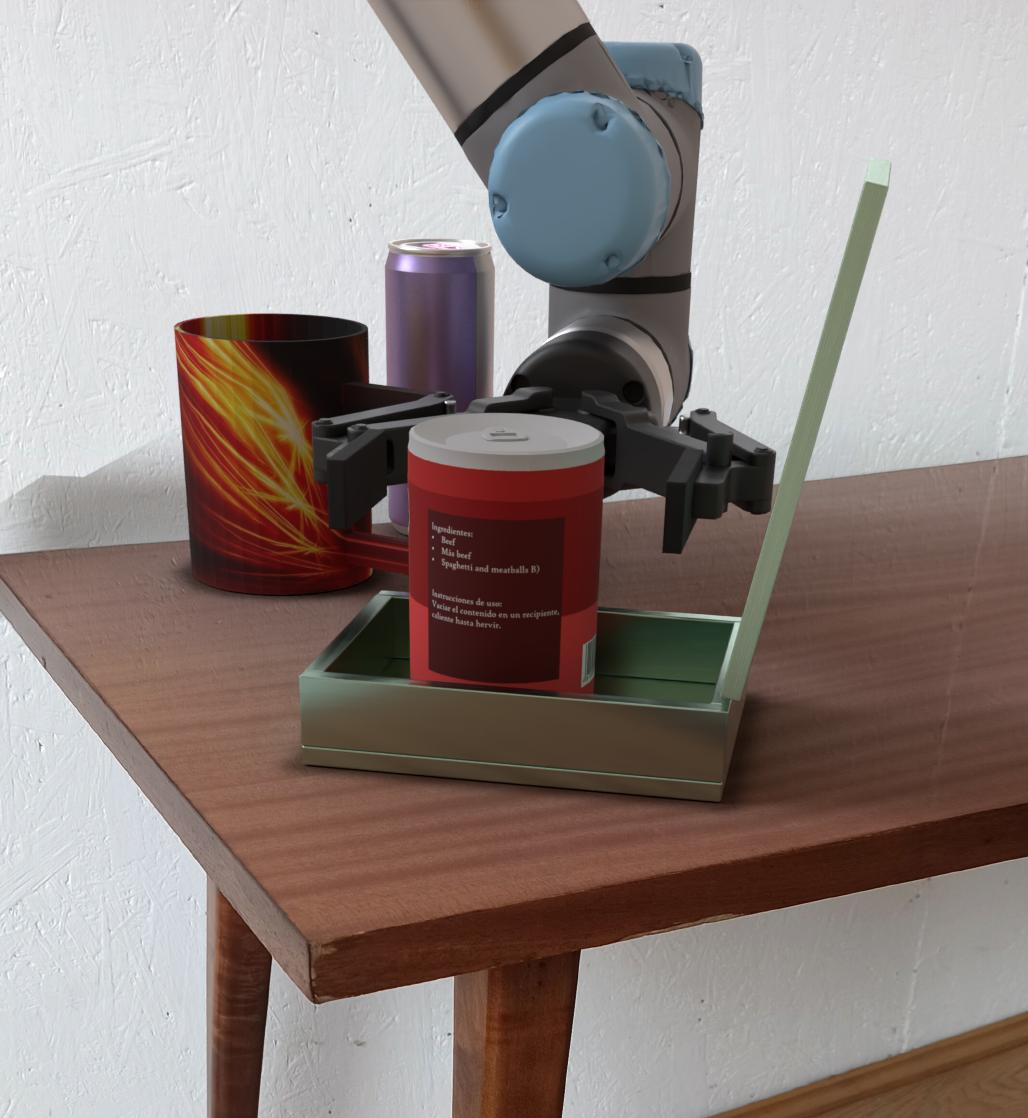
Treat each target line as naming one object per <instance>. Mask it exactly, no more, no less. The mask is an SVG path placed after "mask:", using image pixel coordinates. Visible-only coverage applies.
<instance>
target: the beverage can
mask: <svg viewBox="0 0 1028 1118" xmlns="http://www.w3.org/2000/svg"><path fill="white" fill-rule="evenodd" d="M387 248H388V253H387V256H386V257H387V258H386V261H385V264H384V291H385V292H384V298H385V300H384V301H385V303H384V307H385V310H384V311H385V363H386V364H385V367H386V368H385V370H386V371H385V372H386V386H393V387H401V388H409V389H416V390H424V391H431V392H439V391H442V392H446V393H449V394H450V395H453V400H455V401H456V412H461V413H463V412H465V411H466V410H467V409H468V406H469V404H470V403H471V402H472V401H473V400H476V399H483V398H492V397H494V377H495V376H494V372H495V369H494V367H495V365H494V364H495V363H494V362H495V301H496V299H495V298H496V295H495V294H496V293H495V292H496V285H495V284H496V267H495V262H494V260H493V256H492V252H491V251H492V250H493V246H492V244H491V243H490V242H486V241H481V240H475V239H467V238H452V237H451V238H450V237H449V238H448V237H413V238H402V239H394V240H390V241H389V242H388V243H387ZM387 496H388V499H387V501H388V518H389V519H390V522H391V524H392V526H393V527H394V529H395V530H396V531H397V532H399V533H400V534H402V535H404V536H408V483H405V484H399V485H392V486H387Z"/></svg>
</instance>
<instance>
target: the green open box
mask: <svg viewBox="0 0 1028 1118" xmlns="http://www.w3.org/2000/svg"><path fill="white" fill-rule="evenodd" d="M741 618H742V616H730V615H729V616H728V615H716V614H715V615H714V614H701V613H699V614H698V613H690V612H689V613H687V612H675V611H673V612H672V611H661V610H649V609H648V610H647V609H635V608H634V609H633V608H622V607H621V608H620V607H608V606H606V607H605V606H598V611H597V631H596V651H595V671H594V691H593V694H586V693H573V692H561V691H549V690H537V689H525V688H513V687H501V686H489V685H477V684H464V683H452V682H440V681H428V680H416V679H410V615H409V591H407V592H406V591H394V590H379V592H377V593H376V594H374V596H373V597H372V598H371V599H370V600H369V601H368V602H367V604H366V605H364V606H363V607H362V609H361V610H360V611H359V612H358V613H357V614H356V615H355V616H354V617H353V618H352V619H351V620H350V621H349V623H347V624H346V626H345V627H343V629H342V630H341V631H340V632H339V633H338V634H337V635H336V636H335V637H334V638H333V639H332V640H331V641H330V642H329V644H328V645H327V646H326V647H325V648H324V649H323V650H322V651H321V652H320V653H319V654H318V655H317V656H316V658H314V659H313V661H311V663H309V665H308V666H307V667H306V668H305V669H304V670H303V671H302V672H301V673H300V675H298V688H299V689H298V690H299V692H298V693H299V713H300V714H299V715H300V716H299V717H300V738H301V745H302V746H301V756H302V759H301V760H302V765H305V766H306V765H307V766H319V767H328V768H339V769H350V770H360V771H361V770H363V771H373V772H382V773H383V772H384V773H393V774H406V775H418V776H429V777H438V778H449V779H451V778H452V779H460V780H461V779H462V780H471V781H472V780H473V781H484V782H495V783H506V784H516V785H528V786H537V787H549V788H550V787H551V788H560V789H561V788H562V789H571V790H583V791H595V792H604V793H605V792H606V793H617V794H627V795H638V796H647V797H649V796H650V797H659V798H670V799H681V800H691V801H693V800H694V801H705V802H715V803H719V802H721V801H722V799H723V798H722V797H723V794H724V789H725V785H726V781H727V777H728V773H729V770H730V769H729V768H730V764H731V761H732V757H733V753H734V749H735V744H736V741H737V736H738V732H739V729H740V728H739V727H740V723H741V721H742V715H743V711H744V708H745V703H746V699H747V689H748V680H749V676H748V677H747V681H746V684H745V688H744V691H743V695H742V698H741V701H740V702H738V701H734V700H730V699H726V698H723V697H720V693H721V689H722V686H723V682H724V679H725V675H726V672H727V668H728V665H729V661H730V657H731V654H732V650H733V647H734V643H735V640H736V636H737V633H738V629H739V625H740V622H741Z"/></svg>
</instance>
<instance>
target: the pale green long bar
mask: <svg viewBox="0 0 1028 1118" xmlns="http://www.w3.org/2000/svg"><path fill="white" fill-rule="evenodd" d="M892 164H893V163H892V161H889V160H885V159H882V158H878V157H874V156H873V157H871V158H870V160H869V164H868V168H867V171H866V175H865V177H864V182H863V185H862V189H861V192H860V196H859V200H858V201H857V206H856V210H855V213H854V217H853V220H852V224H851V228H850V230H849V235H848V239H847V242H846V245H845V249H844V252H843V256H842V260H841V263H840V265H839V266H840V267H839V270H838V274H837V277H836V282H835V284H834V288H833V291H832V295H831V299H830V302H829V306H828V310H827V313H826V316H825V320H824V322H823V327H822V331H821V334H820V338H819V342H818V345H817V348H816V351H815V356H814V359H813V363H812V367H811V370H810V374H809V377H808V380H807V381H808V382H807V383H806V386H805V392H804V395H803V399H802V401H801V405H800V409H799V413H798V416H797V420H796V423H795V426H794V430H793V433H792V434H793V435H792V436H791V441H790V445H789V448H788V452H787V454H786V459H785V462H784V466H783V469H782V473H781V476H780V480H779V483H778V487H777V492H776V493H775V498H774V500H773V501H774V502H773V505H772V507H771V511H770V516H769V519H768V521H767V526H766V530H765V533H764V536H763V540H762V544H761V548H760V550H759V555H758V558H757V562H756V565H755V569H754V572H753V576H752V580H751V584H750V586H749V590H748V594H747V598H746V601H745V605H744V608H743V612H742V615H741V617H742V618H741V622H740V625H739V629H738V633H737V636H736V640H735V643H734V647H733V650H732V654H731V657H730V661H729V665H728V668H727V672H726V675H725V679H724V682H723V686H722V689H721V693H720V697H723V698H726V699H730V700H734V701H738V702H740V701H741V698H742V695H743V691H744V688H745V684H746V681H747V682H748V680H747V677H748V678H749V674H750V670H751V667H752V663H753V660H754V656H755V653H756V650H757V646H758V643H759V639H760V635H761V632H762V628H763V625H764V622H765V619H766V615H767V613H768V612H767V611H768V608H769V605H770V600H771V597H772V594H773V591H774V588H775V584H776V581H777V577H778V573H779V570H780V566H781V563H782V559H783V556H784V553H785V549H786V546H787V542H788V539H789V535H790V532H791V528H792V524H793V522H794V518H795V515H796V511H797V507H798V505H799V500H800V497H801V494H802V491H803V488H804V487H803V486H804V483H805V479H806V477H807V472H808V469H809V466H810V463H811V459H812V454H813V452H814V448H815V445H816V442H817V438H818V434H819V431H820V427H821V424H822V420H823V418H824V415H825V410H826V407H827V403H828V401H829V397H830V393H831V390H832V386H833V382H834V379H835V376H836V372H837V369H838V366H839V362H840V359H841V356H842V352H843V349H844V345H845V341H846V338H847V334H848V330H849V327H850V324H851V321H852V317H853V313H854V310H855V306H856V303H857V300H858V296H859V293H860V290H861V285H862V283H863V278H864V277H865V276H864V275H865V271H866V269H867V265H868V261H869V258H870V254H871V251H872V247H873V244H874V240H875V237H876V234H877V231H878V226H879V223H880V219H881V216H882V213H883V210H884V206H885V202H886V200H887V199H886V198H887V195H888V193H889V189H890V181H891V172H892Z"/></svg>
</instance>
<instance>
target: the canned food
mask: <svg viewBox="0 0 1028 1118" xmlns="http://www.w3.org/2000/svg"><path fill="white" fill-rule="evenodd" d="M604 458H605V449H604V435H603V434H602V433H601V432H600V431H598V430H597V429H595V428H593V427H591V426H589V425H586V424H583V423H581V422H577V421H572V420H568V419H563V418H557V417H550V416H542V415H531V414H515V413H477V414H462V415H452V416H445V417H439V418H435V419H430V420H427V421H424V422H421V423H419V424H417V425H416V426H414V427H412V428H411V430H410V431H409V444H408V476H407V478H408V535H407V538H408V539H407V540H408V546H409V575H408V592H409V615H410V679H416V680H428V681H440V682H452V683H464V684H477V685H489V686H501V687H513V688H525V689H537V690H549V691H561V692H573V693H586V694H593V691H594V671H595V651H596V631H597V611H598V607H599V590H600V589H599V588H600V587H599V586H600V572H601V571H600V569H601V550H602V549H601V548H602V531H603V530H602V528H603V527H602V526H603V510H604V499H603V491H604Z"/></svg>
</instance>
